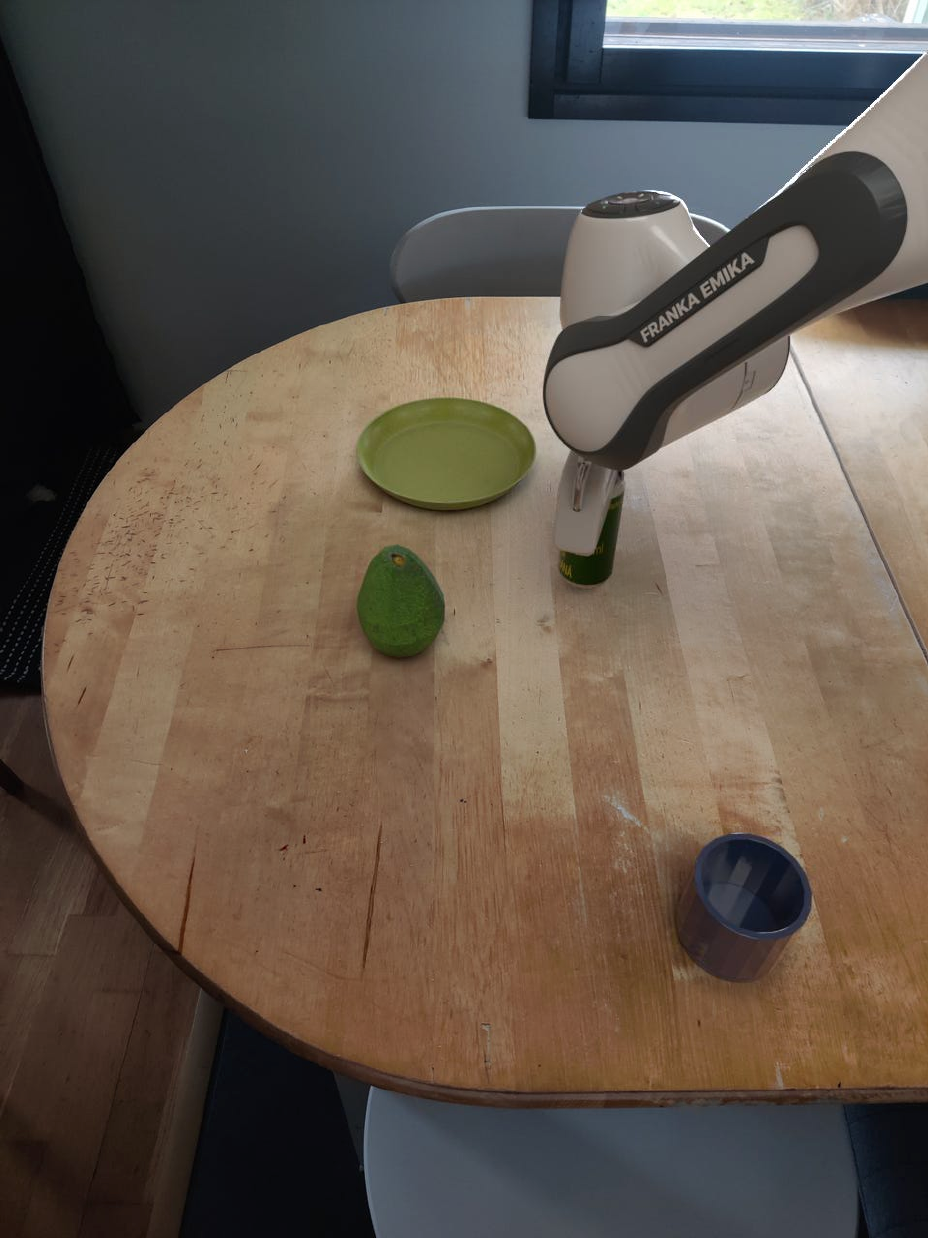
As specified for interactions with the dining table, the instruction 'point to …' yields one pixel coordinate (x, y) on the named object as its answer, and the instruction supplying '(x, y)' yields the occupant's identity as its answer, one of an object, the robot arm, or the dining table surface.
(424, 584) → the avocado
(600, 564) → the dark green drink can
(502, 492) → the saucer
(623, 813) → the dining table surface
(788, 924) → the cup
